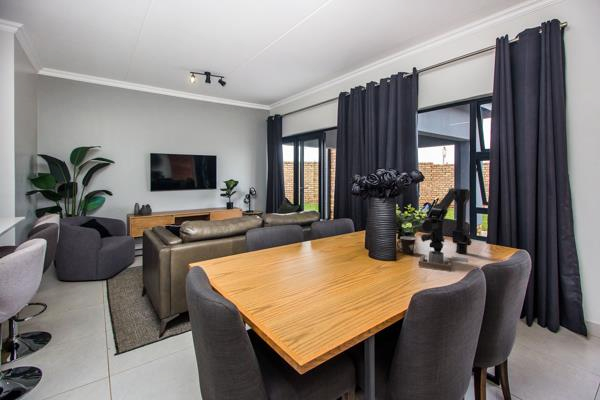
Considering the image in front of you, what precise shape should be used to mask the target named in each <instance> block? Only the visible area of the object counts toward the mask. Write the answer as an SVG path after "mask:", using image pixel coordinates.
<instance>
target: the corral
mask: <svg viewBox="0 0 600 400" xmlns="http://www.w3.org/2000/svg"><path fill="white" fill-rule="evenodd" d="M425 259H426V255H425V254H421V256H420V259H419V260H418V267H419V268H421V269H424V268H426V269H428V270H431V269H433V270H435V271H438V270H440V272H443V271H444V272H445V271H447V272H448V273H451V272H452V265H453V264H452V263H453V260H452V258H451V257H448V261H447V264H444V263H443V264H438V263H431V262H429V261H425Z"/></svg>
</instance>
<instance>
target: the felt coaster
mask: <svg viewBox="0 0 600 400" xmlns="http://www.w3.org/2000/svg"><path fill="white" fill-rule="evenodd" d="M450 258H452V261H454V262H463V263H468V261H469V260H468V258H467V257H461V256H451V257H450Z"/></svg>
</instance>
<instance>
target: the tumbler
mask: <svg viewBox="0 0 600 400" xmlns="http://www.w3.org/2000/svg"><path fill="white" fill-rule="evenodd" d="M444 255H445V252H442V251H441V252H439V251H434V250H431V251H429V252H428V262H431V263H438V264H444V257H445V256H444Z"/></svg>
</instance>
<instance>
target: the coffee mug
mask: <svg viewBox="0 0 600 400" xmlns="http://www.w3.org/2000/svg"><path fill="white" fill-rule="evenodd" d="M416 239H417V238H416V237H413V236H400V240H398V241H397V243H396V247H397V248H398V249H400V250H401V254H403V255H411V256H412V255H414V252H415V245H416ZM399 243H400V246H399Z"/></svg>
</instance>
